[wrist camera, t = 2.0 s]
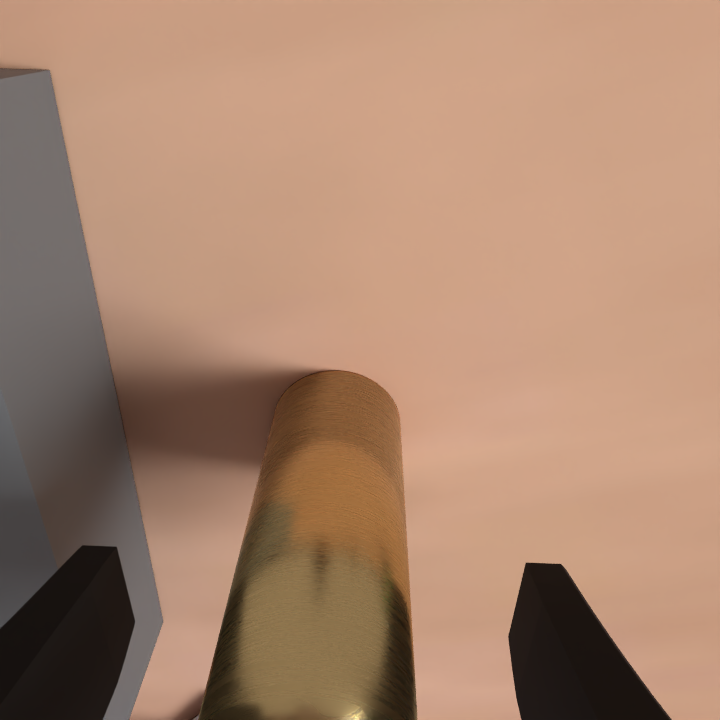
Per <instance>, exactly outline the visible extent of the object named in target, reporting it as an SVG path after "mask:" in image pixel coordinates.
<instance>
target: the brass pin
mask: <svg viewBox="0 0 720 720" xmlns="http://www.w3.org/2000/svg"><path fill="white" fill-rule="evenodd" d="M198 720H417V705H416V688H415V670H414V653H413V636H412V618H411V601H410V584H409V566H408V549H407V532H406V514H405V497H404V480H403V463H402V445H401V428H400V417H399V412H398V409H397V406H396V404H395V403H394V401H393V399H392V398H391V396H390V395H389V394H388V393H387V392H386V391H385V390H384V389H383V388H382V387H381V386H380V385H378V384H377V383H376V382H374V381H372V380H371V379H369V378H366V377H364V376H362V375H359V374H355V373H351V372H346V371H325V372H319V373H315V374H311V375H309V376H306V377H304V378H302V379H300V380H298V381H297V382H295V383H294V384H293V385H291V386H290V387H289V388H288V389H287V390H286V391H285V393H284V394H283V395H282V396H281V398H280V400H279V402H278V404H277V407H276V410H275V414H274V418H273V422H272V426H271V430H270V434H269V438H268V442H267V446H266V450H265V454H264V458H263V462H262V466H261V470H260V474H259V478H258V482H257V486H256V490H255V494H254V498H253V502H252V506H251V510H250V514H249V518H248V522H247V526H246V530H245V534H244V538H243V542H242V546H241V550H240V554H239V558H238V562H237V566H236V570H235V574H234V578H233V582H232V586H231V590H230V594H229V598H228V602H227V606H226V610H225V614H224V618H223V622H222V626H221V630H220V634H219V638H218V642H217V646H216V650H215V654H214V658H213V662H212V666H211V670H210V674H209V678H208V682H207V686H206V690H205V694H204V698H203V702H202V706H201V710H200V714H199V718H198Z"/></svg>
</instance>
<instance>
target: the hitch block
mask: <svg viewBox="0 0 720 720" xmlns="http://www.w3.org/2000/svg"><path fill="white" fill-rule="evenodd" d="M82 545H89V546H115V547H117V549H118V553H119V557H120V561H121V566H122V570H123V574H124V578H125V582H126V586H127V590H128V594H129V598H130V602H131V606H132V610H133V614H134V618H135V625H134V629H133V632H132V636H131V640H130V643H129V647H128V651H127V654H126V658H125V661H124V664H123V668H122V671H121V674H120V678H119V681H118V684H117V686H116V689H115V691H114V694H113V696H112V699H111V701H110V704H109V706H108V708H107V711H106V713H105V716H104V718H103V720H129V718H130V715H131V712H132V710H133V707H134V704H135V701H136V698H137V695H138V692H139V690H140V687H141V684H142V681H143V678H144V675H145V672H146V670H147V667H148V664H149V661H150V658H151V655H152V652H153V650H154V647H155V644H156V641H157V638H158V635H159V632H160V630H161V627H162V624H163V618H162V613H161V608H160V603H159V599H158V594H157V589H156V584H155V579H154V574H153V569H152V565H151V560H150V555H149V550H148V545H147V540H146V535H145V531H144V526H143V521H142V516H141V511H140V506H139V502H138V497H137V492H136V487H135V482H134V477H133V472H132V468H131V463H130V458H129V453H128V448H127V443H126V438H125V434H124V429H123V424H122V419H121V414H120V409H119V405H118V400H117V395H116V390H115V385H114V380H113V375H112V371H111V366H110V361H109V356H108V351H107V346H106V341H105V337H104V332H103V327H102V322H101V317H100V312H99V308H98V303H97V298H96V293H95V288H94V283H93V278H92V274H91V269H90V264H89V259H88V254H87V249H86V244H85V240H84V235H83V230H82V225H81V220H80V215H79V211H78V206H77V201H76V196H75V191H74V186H73V181H72V177H71V172H70V167H69V162H68V157H67V152H66V147H65V143H64V138H63V133H62V128H61V123H60V118H59V114H58V109H57V104H56V99H55V94H54V89H53V84H52V80H51V75H50V70H32V69H1V68H0V628H1V627H2V626H3V625H4V624H5V623H6V622H7V621H8V620H9V619H10V618H11V617H12V616H13V615H14V614H15V613H16V612H17V611H18V610H19V609H20V608H21V607H22V606H23V605H24V604H25V603H26V602H27V601H28V600H29V599H30V598H31V597H32V596H33V595H34V594H35V593H36V592H37V591H38V590H39V589H40V588H41V587H42V586H43V585H44V584H45V583H46V582H47V580H48V579H49V578H50V577H51V576H52V575H53V574H54V573H55V572H56V571H57V570H58V569H59V568H60V567H61V566H62V565H63V564H64V563H65V562H66V561H67V560H68V559H69V558H70V557H71V556H72V555H73V554H74V553H75V552H76V551H77V550H78V549H79V548H80V547H81V546H82Z"/></svg>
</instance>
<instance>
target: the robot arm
mask: <svg viewBox="0 0 720 720" xmlns="http://www.w3.org/2000/svg"><path fill="white" fill-rule="evenodd" d="M134 625H135V618H134V614H133V610H132V606H131V602H130V598H129V594H128V590H127V586H126V582H125V578H124V574H123V570H122V566H121V561H120V557H119V553H118V549H117V547H115V546H89V545H82V546H81V547H80V548H79V549H78V550H77V551H76V552H75V553H74V554H73V555H72V556H71V557H70V558H69V559H68V560H67V561H66V562H65V563H64V564H63V565H62V566H61V567H60V568H59V569H58V570H57V571H56V572H55V573H54V574H53V575H52V576H51V577H50V578H49V579H48V580H47V582H46V583H45V584H44V585H43V586H42V587H41V588H40V589H39V590H38V591H37V592H36V593H35V594H34V595H33V596H32V597H31V598H30V599H29V600H28V601H27V602H26V603H25V604H24V605H23V606H22V607H21V608H20V609H19V610H18V611H17V612H16V613H15V614H14V615H13V616H12V617H11V618H10V619H9V620H8V621H7V622H6V623H5V624H4V625H3V626H2V627H1V628H0V720H103V718H104V716H105V713H106V711H107V708H108V706H109V704H110V701H111V699H112V696H113V694H114V691H115V689H116V686H117V684H118V681H119V678H120V674H121V671H122V668H123V664H124V661H125V658H126V654H127V651H128V647H129V643H130V640H131V636H132V632H133V629H134ZM508 638H509V646H510V654H511V662H512V670H513V677H514V684H515V691H516V698H517V702H518V707H519V711H520V715H521V719H522V720H671V718H670V717H669V716H668V715H667V713H666V712H665V711H664V709H663V708H662V707H661V705H660V704H659V703H658V702H657V700H656V699H655V698H654V696H653V695H652V694H651V692H650V691H649V690H648V688H647V687H646V686H645V684H644V683H643V681H642V680H641V679H640V677H639V676H638V675H637V673H636V672H635V671H634V669H633V668H632V666H631V665H630V664H629V662H628V661H627V660H626V658H625V657H624V656H623V654H622V653H621V651H620V650H619V648H618V647H617V646H616V644H615V643H614V641H613V640H612V638H611V637H610V636H609V634H608V633H607V631H606V630H605V628H604V627H603V625H602V624H601V622H600V621H599V619H598V618H597V617H596V615H595V614H594V612H593V611H592V609H591V607H590V606H589V604H588V603H587V601H586V600H585V598H584V597H583V595H582V594H581V592H580V591H579V589H578V588H577V586H576V584H575V583H574V581H573V580H572V578H571V577H570V575H569V574H568V572H567V570H566V569H565V568H564V567H563V566H562V565H561V564H546V563H526V565H525V569H524V573H523V577H522V581H521V586H520V590H519V594H518V598H517V603H516V607H515V611H514V615H513V619H512V624H511V628H510V632H509V636H508ZM198 718H199V715H198V716H197V717H195V718H194V719H193V720H198Z"/></svg>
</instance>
